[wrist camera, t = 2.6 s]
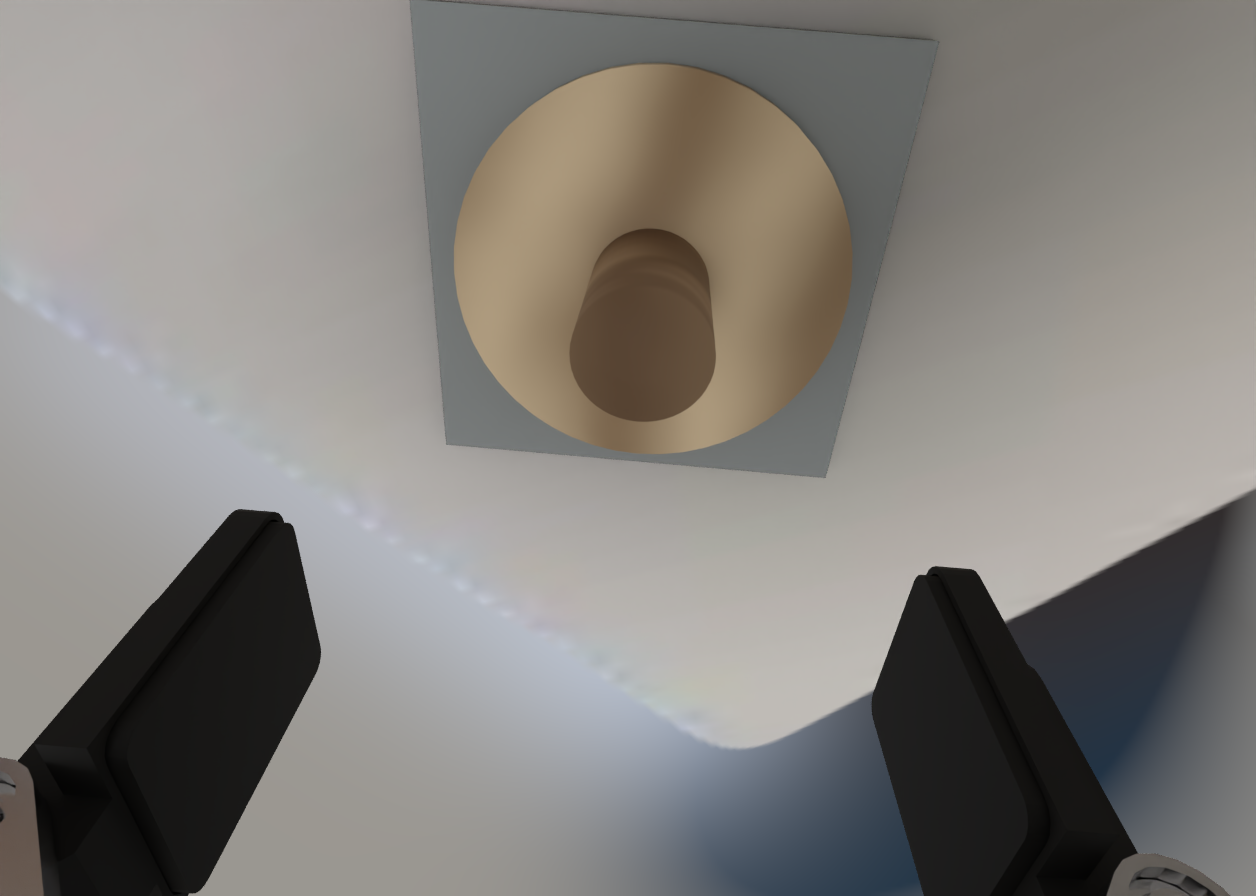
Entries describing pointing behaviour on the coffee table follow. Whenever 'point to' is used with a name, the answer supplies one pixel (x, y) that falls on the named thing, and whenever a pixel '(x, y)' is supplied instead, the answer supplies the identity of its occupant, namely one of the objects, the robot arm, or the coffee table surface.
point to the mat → (752, 55)
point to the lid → (653, 258)
